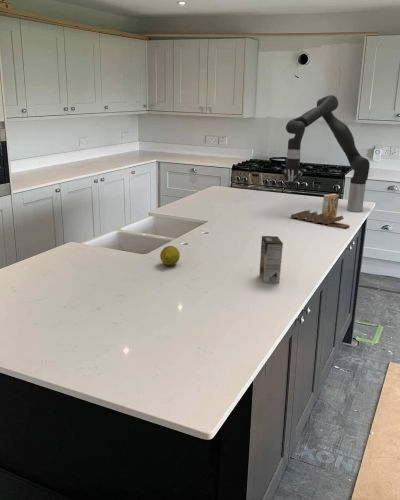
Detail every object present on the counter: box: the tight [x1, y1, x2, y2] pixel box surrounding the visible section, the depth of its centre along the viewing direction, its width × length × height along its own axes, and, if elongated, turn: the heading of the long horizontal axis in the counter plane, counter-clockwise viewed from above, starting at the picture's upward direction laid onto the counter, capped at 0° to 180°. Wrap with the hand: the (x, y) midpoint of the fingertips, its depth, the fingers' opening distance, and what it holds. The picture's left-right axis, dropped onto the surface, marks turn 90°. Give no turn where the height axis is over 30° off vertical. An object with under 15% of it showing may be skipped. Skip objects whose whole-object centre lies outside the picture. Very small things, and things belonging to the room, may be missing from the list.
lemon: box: [159, 245, 181, 266], centre depth 209 cm, size 11×8×8 cm
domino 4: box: [312, 214, 334, 224], centre depth 284 cm, size 5×2×10 cm
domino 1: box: [290, 209, 311, 219], centre depth 293 cm, size 5×2×10 cm
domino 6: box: [327, 222, 350, 230], centre depth 280 cm, size 5×2×10 cm
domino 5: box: [321, 215, 344, 226], centre depth 281 cm, size 5×2×10 cm
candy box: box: [321, 193, 340, 223], centre depth 289 cm, size 9×4×15 cm, turn 129°
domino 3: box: [305, 212, 326, 222], centre depth 287 cm, size 5×2×10 cm
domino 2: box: [296, 211, 319, 221], centre depth 290 cm, size 5×2×10 cm
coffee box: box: [258, 235, 284, 284], centre depth 196 cm, size 9×6×16 cm
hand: (291, 187), depth 294 cm, fingers closed
